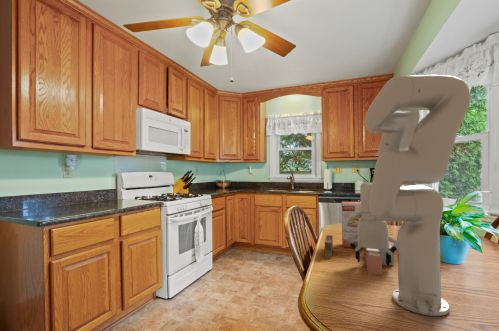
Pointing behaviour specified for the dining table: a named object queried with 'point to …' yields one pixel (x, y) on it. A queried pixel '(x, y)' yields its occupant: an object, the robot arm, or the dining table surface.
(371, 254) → the pink rectangular block
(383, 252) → the slate block
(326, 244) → the bookend
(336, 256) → the dining table surface
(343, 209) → the cracker box
